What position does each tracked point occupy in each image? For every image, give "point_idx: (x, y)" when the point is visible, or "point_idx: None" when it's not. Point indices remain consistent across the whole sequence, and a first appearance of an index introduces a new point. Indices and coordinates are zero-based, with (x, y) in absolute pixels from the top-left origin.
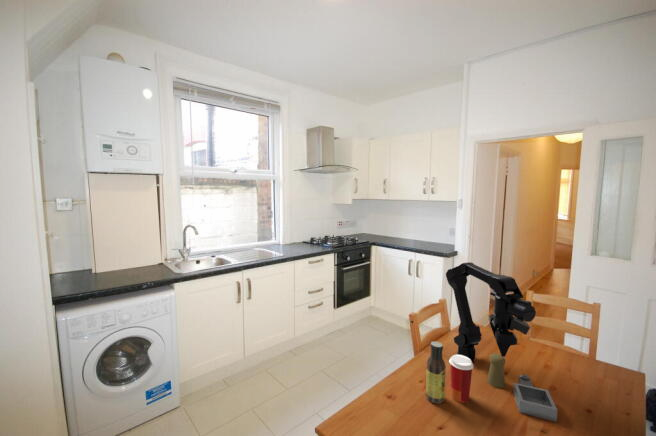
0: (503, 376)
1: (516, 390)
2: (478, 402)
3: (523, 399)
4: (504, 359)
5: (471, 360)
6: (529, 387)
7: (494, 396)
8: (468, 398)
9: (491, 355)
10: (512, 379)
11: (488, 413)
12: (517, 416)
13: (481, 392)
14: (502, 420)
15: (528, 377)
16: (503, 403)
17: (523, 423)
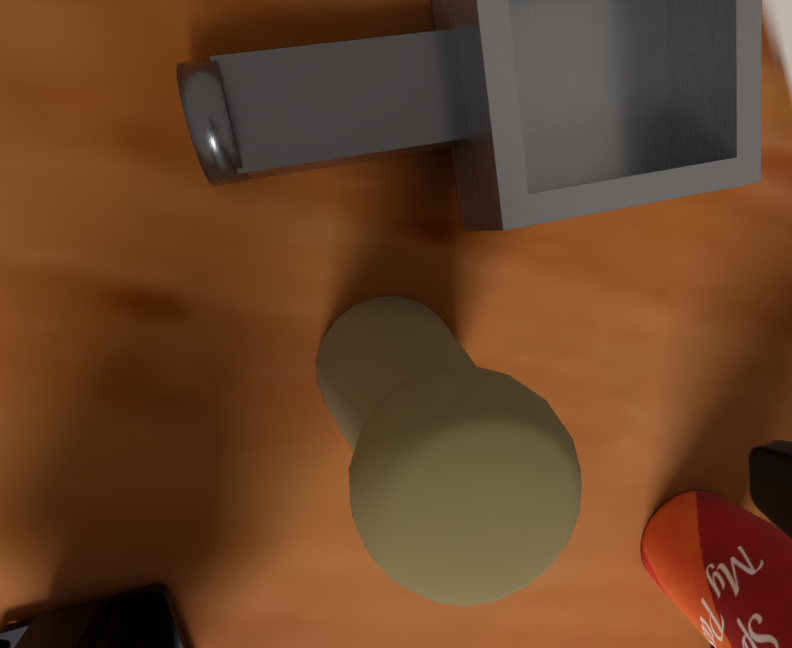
0: (440, 332)
1: (619, 208)
2: (685, 435)
3: (558, 155)
4: (499, 399)
5: (152, 614)
6: (511, 79)
7: (577, 356)
8: (717, 498)
9: (507, 593)
10: (235, 240)
11: (757, 368)
12: (716, 204)
13: (574, 439)
14: (784, 289)
15: (207, 72)
16: (625, 294)
17: (764, 169)
